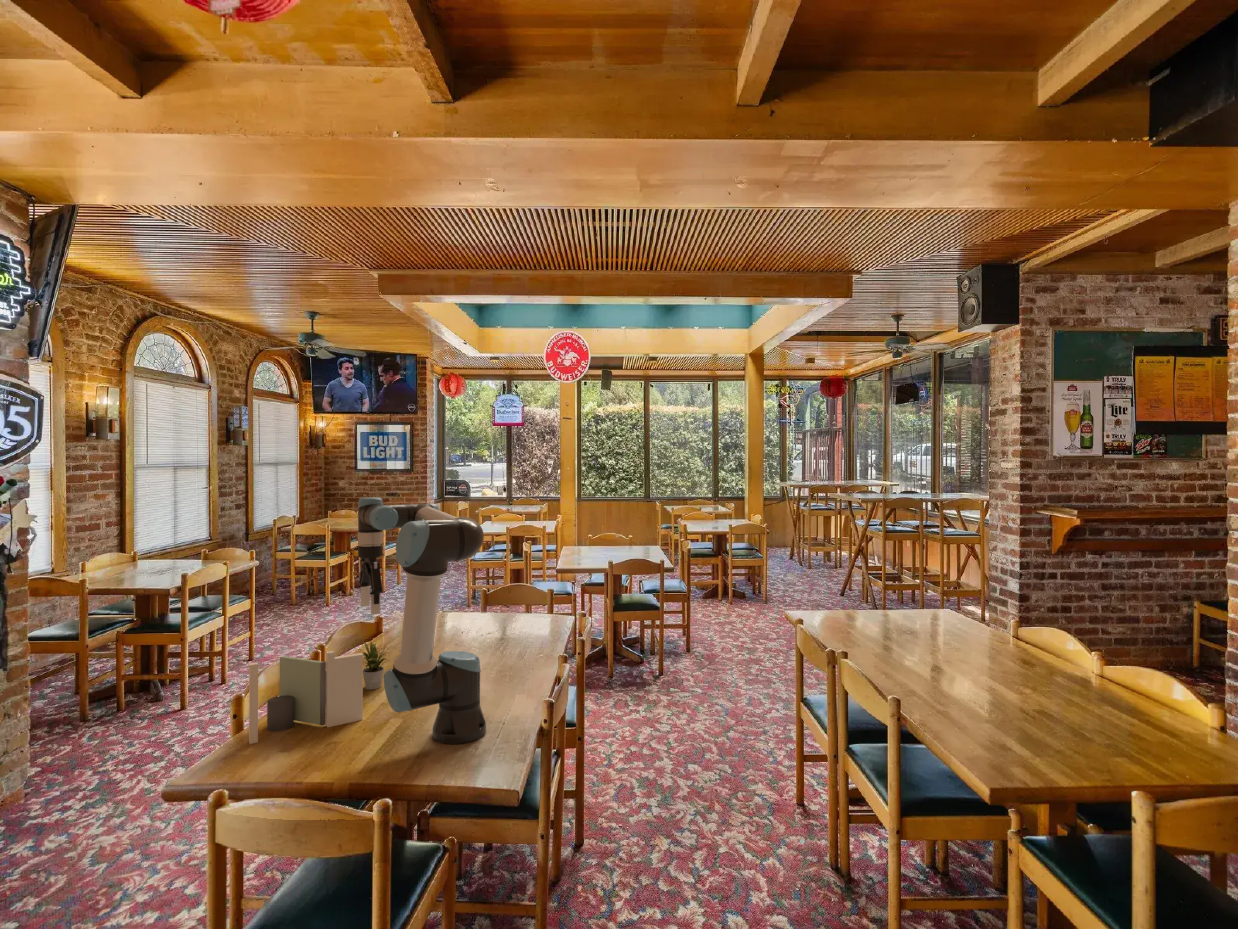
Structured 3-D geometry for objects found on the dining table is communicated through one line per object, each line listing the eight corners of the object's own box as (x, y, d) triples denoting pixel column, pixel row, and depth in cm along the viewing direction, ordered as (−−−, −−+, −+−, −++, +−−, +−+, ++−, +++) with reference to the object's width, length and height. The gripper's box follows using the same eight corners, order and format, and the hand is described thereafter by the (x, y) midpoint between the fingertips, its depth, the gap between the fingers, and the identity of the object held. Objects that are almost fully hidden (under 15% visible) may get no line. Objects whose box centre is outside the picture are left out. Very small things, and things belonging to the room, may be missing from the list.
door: (322, 725, 189) (323, 663, 189) (279, 717, 195) (279, 657, 195) (326, 724, 190) (326, 662, 190) (283, 716, 196) (283, 655, 196)
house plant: (339, 688, 223) (339, 641, 223) (374, 677, 234) (374, 633, 234) (364, 697, 215) (364, 648, 215) (399, 685, 226) (399, 639, 226)
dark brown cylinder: (294, 728, 189) (294, 701, 189) (267, 733, 186) (267, 705, 186) (292, 720, 195) (293, 693, 195) (266, 724, 192) (266, 698, 192)
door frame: (362, 720, 195) (362, 648, 195) (249, 744, 178) (249, 665, 178) (361, 717, 197) (361, 646, 197) (249, 741, 180) (249, 663, 180)
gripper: (392, 548, 200) (392, 616, 200) (372, 540, 221) (372, 601, 221) (367, 550, 196) (367, 619, 196) (349, 541, 216) (349, 604, 216)
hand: (370, 610), depth 208 cm, fingers open, 13 cm apart
